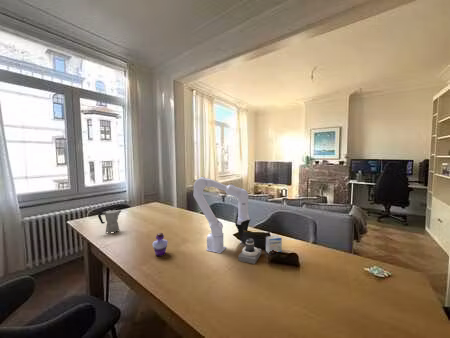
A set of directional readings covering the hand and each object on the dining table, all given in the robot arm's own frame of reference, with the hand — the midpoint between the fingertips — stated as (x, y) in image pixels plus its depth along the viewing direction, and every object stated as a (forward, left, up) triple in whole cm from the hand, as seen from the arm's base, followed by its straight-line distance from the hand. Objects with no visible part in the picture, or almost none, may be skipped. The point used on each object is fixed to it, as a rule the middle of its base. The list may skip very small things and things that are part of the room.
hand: (243, 233), depth 123 cm
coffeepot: (-99, -11, -10) cm, 100 cm away
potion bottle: (-41, -24, -10) cm, 49 cm away
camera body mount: (+7, -7, -10) cm, 14 cm away
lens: (+6, -7, -7) cm, 12 cm away
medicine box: (+17, +4, -10) cm, 20 cm away
